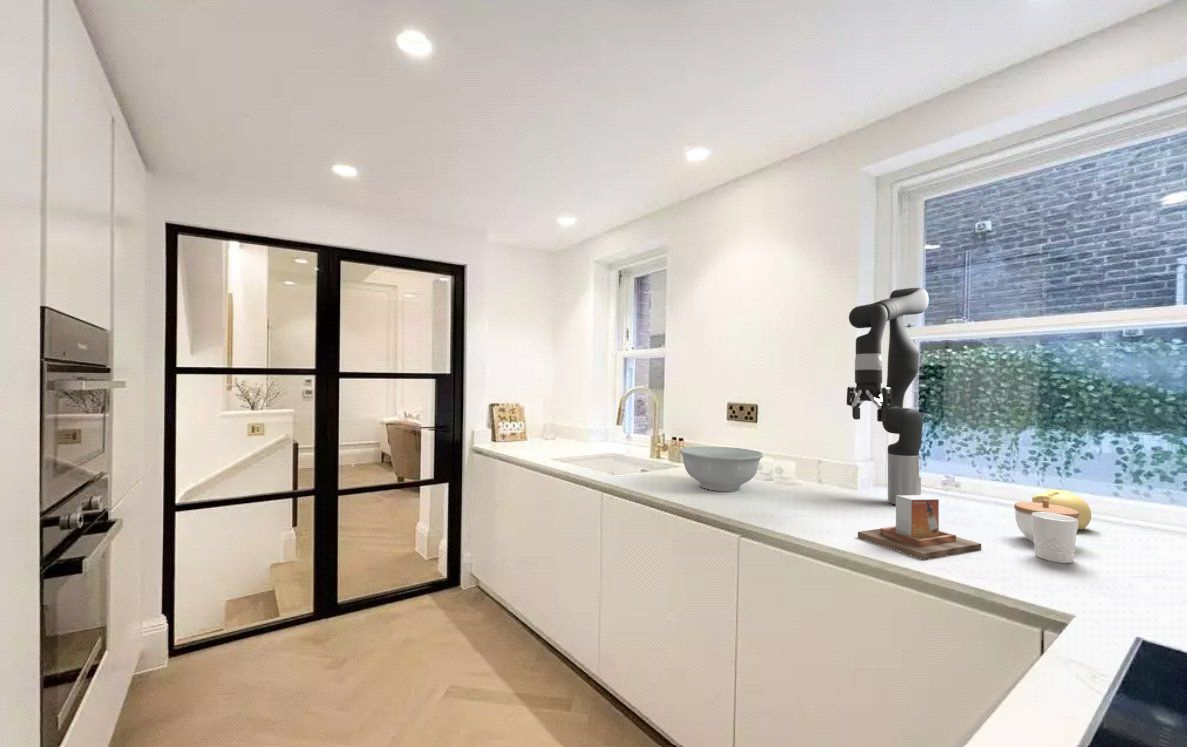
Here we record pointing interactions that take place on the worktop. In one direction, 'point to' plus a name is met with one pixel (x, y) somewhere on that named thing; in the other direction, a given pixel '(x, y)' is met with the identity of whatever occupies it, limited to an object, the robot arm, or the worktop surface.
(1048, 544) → the white cup
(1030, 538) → the lidded bowl
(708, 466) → the bowl
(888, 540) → the walnut board
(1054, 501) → the sculpture
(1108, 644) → the worktop surface
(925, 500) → the small box
